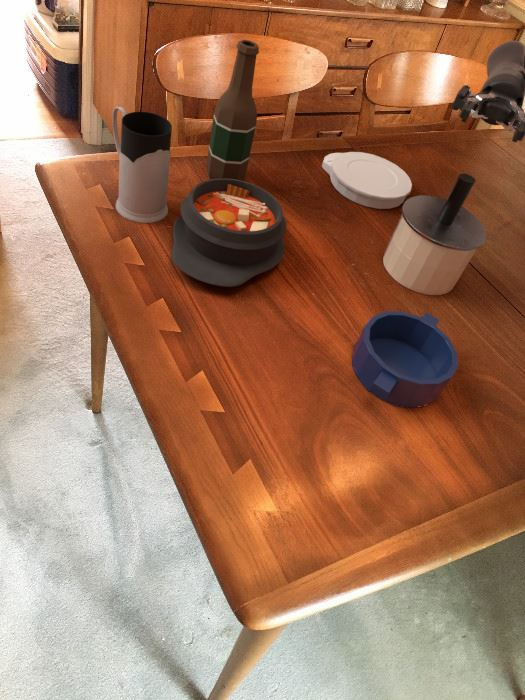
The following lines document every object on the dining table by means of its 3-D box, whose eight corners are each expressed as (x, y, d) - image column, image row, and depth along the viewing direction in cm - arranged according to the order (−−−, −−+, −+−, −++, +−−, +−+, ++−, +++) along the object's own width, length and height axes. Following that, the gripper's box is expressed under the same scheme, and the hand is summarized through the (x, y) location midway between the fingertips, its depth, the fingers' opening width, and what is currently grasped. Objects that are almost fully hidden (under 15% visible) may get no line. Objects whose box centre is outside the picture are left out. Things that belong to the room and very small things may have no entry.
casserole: (206, 193, 102) (213, 151, 96) (300, 230, 100) (313, 189, 94) (141, 267, 85) (144, 221, 79) (253, 312, 83) (265, 269, 77)
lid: (351, 151, 126) (355, 138, 124) (421, 197, 118) (427, 184, 116) (301, 168, 116) (305, 155, 113) (375, 219, 108) (380, 206, 106)
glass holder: (132, 228, 91) (136, 142, 80) (90, 182, 97) (88, 96, 86) (177, 216, 95) (187, 133, 85) (134, 173, 101) (138, 91, 91)
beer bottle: (230, 161, 112) (254, 32, 94) (252, 182, 108) (281, 52, 91) (197, 166, 107) (216, 33, 90) (219, 188, 104) (243, 54, 87)
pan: (458, 359, 86) (475, 336, 82) (413, 437, 73) (430, 413, 70) (382, 314, 89) (395, 289, 85) (326, 381, 77) (338, 356, 73)
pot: (465, 271, 103) (492, 226, 95) (439, 306, 94) (467, 260, 87) (400, 236, 106) (422, 190, 99) (370, 267, 97) (392, 219, 90)
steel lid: (499, 253, 91) (530, 206, 85) (424, 254, 86) (450, 204, 80) (456, 201, 100) (481, 155, 94) (386, 199, 95) (407, 150, 89)
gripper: (474, 59, 97) (460, 86, 86) (552, 89, 95) (548, 119, 84) (454, 102, 103) (439, 132, 92) (528, 130, 101) (522, 164, 90)
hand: (491, 126), depth 88 cm, fingers open, 8 cm apart
